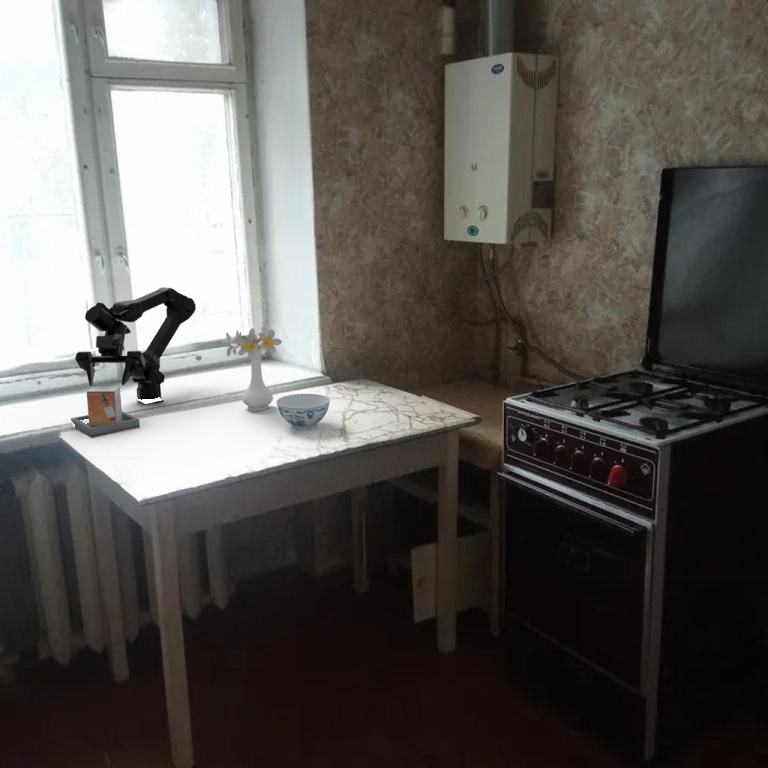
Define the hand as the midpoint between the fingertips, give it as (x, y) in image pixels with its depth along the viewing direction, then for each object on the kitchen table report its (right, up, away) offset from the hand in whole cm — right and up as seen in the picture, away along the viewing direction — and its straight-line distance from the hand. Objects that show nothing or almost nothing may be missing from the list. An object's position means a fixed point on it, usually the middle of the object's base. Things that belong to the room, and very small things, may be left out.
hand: (106, 384), depth 231 cm
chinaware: (+57, -12, -1) cm, 58 cm away
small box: (0, -11, -1) cm, 12 cm away
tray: (0, -12, -1) cm, 12 cm away
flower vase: (+40, -7, +17) cm, 44 cm away
